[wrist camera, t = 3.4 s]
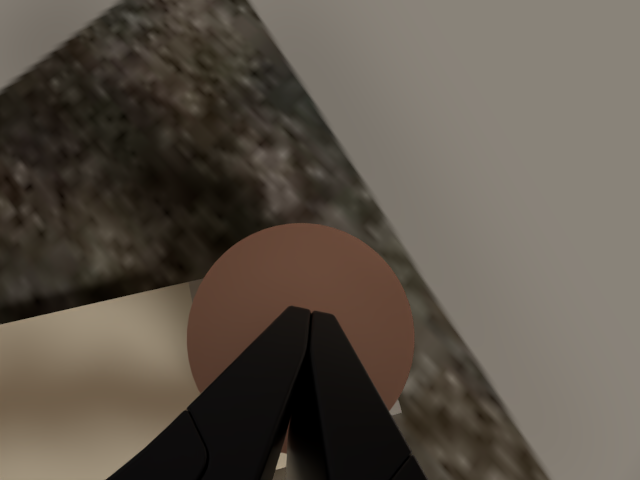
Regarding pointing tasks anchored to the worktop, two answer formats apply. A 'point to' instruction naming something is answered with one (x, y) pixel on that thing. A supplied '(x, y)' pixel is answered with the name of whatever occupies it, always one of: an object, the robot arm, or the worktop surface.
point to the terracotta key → (302, 301)
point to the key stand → (95, 384)
